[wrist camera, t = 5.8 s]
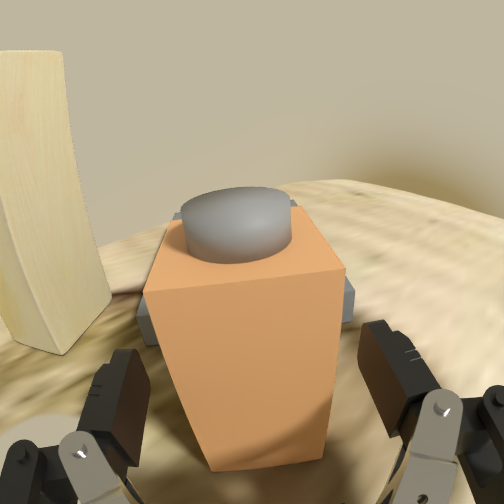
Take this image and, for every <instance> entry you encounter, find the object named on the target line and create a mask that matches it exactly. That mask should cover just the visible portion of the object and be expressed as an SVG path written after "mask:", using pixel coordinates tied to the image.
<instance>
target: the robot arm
mask: <svg viewBox="0 0 504 504" xmlns="http://www.w3.org/2000/svg"><path fill="white" fill-rule="evenodd" d="M357 359H358V365H359V369H360V371H361V373H362V376H363V378H364V380H365V382H366V385H367V387H368V389H369V391H370V394H371V396H372V398H373V400H374V403H375V405H376V407H377V410H378V412H379V414H380V416H381V419H382V421H383V423H384V426H385V428H386V431H387V433H388V435H389V438H393V437H396V436H399V435H400V436H401V439H402V441H403V442H402V444H401V446H400V449H399V452H398V455H397V457H396V460H395V463H394V465H393V468H392V470H391V473H390V475H389V478H388V480H387V483H386V485H385V487H384V489H383V491H382V493H381V495H380V497H379V498H378V500H377V502H376V504H448V503H449V500H450V496H451V493H452V489H453V485H454V481H455V478H456V473H457V467H458V465H457V463H456V462H454V455H457V457H458V460H459V462H460V464H461V467H462V469H463V472H464V474H465V477H466V479H467V482H468V484H469V487H470V489H471V492H472V495H473V497H474V500H475V503H476V504H504V386H501V385H494V386H491V387H489V388H488V389H487V390H486V392H485V393H484V395H483V397H476V398H459V396H458V395H457V394H455V393H454V392H452V391H450V390H447V389H442V388H441V387H440V385H439V384H438V382H437V381H436V379H435V377H434V376H433V374H432V373H431V371H430V369H429V368H428V366H427V365H426V363H425V362H424V360H423V359H421V356H420V354H419V352H418V351H417V350H416V348H415V346H414V345H413V343H412V342H411V340H410V339H409V338H408V337H407V336H405V335H404V334H402V333H401V332H400V331H393V332H392V330H391V329H390V327H389V326H388V324H387V323H386V321H385V320H377V321H372V322H367V323H364V324H363V325H362V329H361V336H360V342H359V348H358V355H357ZM149 397H150V381H149V378H148V375H147V373H146V370H145V368H144V366H143V363H142V361H141V359H140V356H139V354H138V352H137V350H136V349H116V350H115V351H114V352H113V355H112V358H111V361H110V364H103V365H102V366H101V367H100V369H99V370H98V371H97V372H96V373H95V376H94V378H93V381H92V384H91V387H90V390H89V393H88V396H87V399H86V402H85V405H84V408H83V411H82V414H81V417H80V420H79V424H78V427H77V430H76V431H75V432H72V433H70V434H68V435H67V436H65V437H64V438H63V440H62V441H61V443H60V445H56V446H50V447H44V448H38V447H37V446H36V445H35V444H34V443H33V442H32V441H29V440H19V441H17V442H15V443H14V444H13V445H12V446H11V447H10V448H9V450H8V452H7V455H6V459H5V462H4V465H3V469H2V472H1V476H0V504H77V501H78V499H79V500H80V503H81V504H146V502H145V501H144V499H143V498H142V497H141V495H140V494H139V492H138V491H137V490H136V488H135V487H134V485H133V484H132V482H131V481H130V479H129V478H128V476H127V469H128V466H129V467H139V460H140V453H141V446H142V439H143V433H144V426H145V420H146V414H147V408H148V403H149ZM342 504H345V503H342Z"/></svg>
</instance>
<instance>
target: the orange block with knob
mask: <svg viewBox="0 0 504 504" xmlns="http://www.w3.org/2000/svg"><path fill="white" fill-rule="evenodd" d="M180 211H181V217H182V219H180V220H172V221H171V222H170V224H169V226H168V229H167V231H166V234H165V236H164V238H163V241H162V243H161V246H160V248H159V251H158V253H157V256H156V258H155V261H154V263H153V266H152V268H151V271H150V274H149V276H148V279H147V282H146V284H145V287H144V290H143V295H144V298H145V301H146V305H147V308H148V311H149V314H150V317H151V320H152V324H153V327H154V330H155V333H156V336H157V339H158V342H159V344H160V347H161V350H162V353H163V356H164V359H165V361H166V364H167V367H168V370H169V372H170V375H171V378H172V380H173V383H174V385H175V388H176V391H177V393H178V396H179V398H180V401H181V403H182V406H183V408H184V410H185V413H186V415H187V418H188V420H189V422H190V425H191V427H192V429H193V432H194V434H195V436H196V438H197V441H198V443H199V445H200V447H201V449H202V452H203V454H204V456H205V458H206V460H207V462H208V464H209V466H210V469H211V471H212V472H220V471H235V470H247V469H257V468H266V467H274V466H281V465H288V464H294V463H300V462H306V461H311V460H316V459H321V458H322V456H323V450H324V445H325V440H326V434H327V428H328V422H329V416H330V410H331V404H332V397H333V390H334V383H335V375H336V368H337V360H338V351H339V342H340V332H341V322H342V311H343V299H344V285H345V269H346V268H345V267H344V265H343V264H342V262H341V261H340V259H339V258H338V256H337V255H336V254H335V252H334V251H333V249H332V248H331V246H330V245H329V244H328V242H327V241H326V239H325V238H324V237H323V235H322V234H321V232H320V231H319V230H318V228H317V227H316V225H315V224H314V223H313V221H312V220H311V219H310V217H309V216H308V214H307V213H306V212H305V210H304V209H303V208H302V206H294V207H290V197H289V195H288V194H287V193H285V192H283V191H280V190H277V189H273V188H266V187H237V188H229V189H223V190H217V191H213V192H209V193H205V194H202V195H200V196H197V197H195V198H193V199H190V200H189V201H187V202H186V203H185V204H183V206H182V207H181V210H180Z"/></svg>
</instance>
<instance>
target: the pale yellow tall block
mask: <svg viewBox="0 0 504 504" xmlns="http://www.w3.org/2000/svg"><path fill="white" fill-rule="evenodd" d="M111 300H112V295H111V291H110V288H109V285H108V282H107V279H106V276H105V273H104V270H103V266H102V263H101V260H100V256H99V253H98V250H97V246H96V243H95V240H94V236H93V232H92V228H91V224H90V221H89V217H88V213H87V209H86V205H85V201H84V196H83V192H82V187H81V183H80V178H79V173H78V168H77V163H76V158H75V152H74V146H73V140H72V133H71V127H70V120H69V113H68V105H67V94H66V86H65V73H64V60H63V54H62V52H60V51H44V50H9V51H7V50H4V51H0V314H1V316H2V318H3V320H4V322H5V324H6V326H7V328H8V330H9V332H10V334H11V336H12V337H13V339H14V340H16V341H17V342H19V343H22V344H25V345H27V346H31V347H34V348H37V349H40V350H43V351H47V352H50V353H54V354H58V355H64V354H65V353H66V352H67V351H68V350H69V349H70V348H71V347H72V345H73V344H74V343H75V342H76V341H77V340H78V338H79V337H80V336H81V335H82V334H83V333H84V332H85V330H86V329H87V328H88V327H89V326H90V325H91V324H92V322H93V321H94V320H95V319H96V318H97V317H98V316H99V314H100V313H101V312H102V311H103V310H104V309H105V308H106V307H107V306H108V304H109V303H110V302H111Z"/></svg>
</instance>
